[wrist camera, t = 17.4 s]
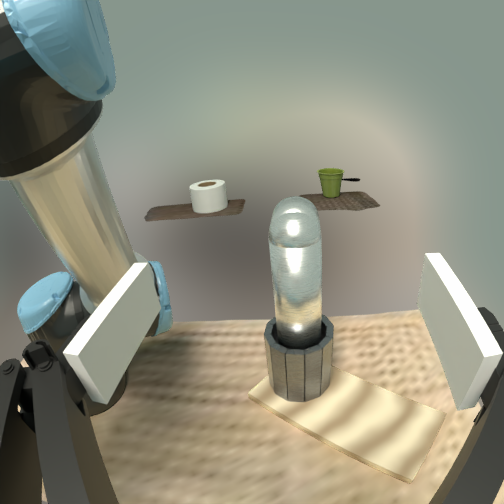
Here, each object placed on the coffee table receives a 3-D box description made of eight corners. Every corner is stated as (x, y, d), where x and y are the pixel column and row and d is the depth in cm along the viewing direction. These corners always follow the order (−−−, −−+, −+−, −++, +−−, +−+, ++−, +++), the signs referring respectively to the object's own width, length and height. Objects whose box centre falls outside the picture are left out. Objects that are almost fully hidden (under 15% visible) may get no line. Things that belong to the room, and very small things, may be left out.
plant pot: (348, 198, 134) (347, 172, 129) (321, 200, 134) (320, 175, 129) (340, 190, 145) (339, 167, 140) (315, 193, 145) (314, 169, 140)
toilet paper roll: (230, 200, 148) (227, 177, 143) (224, 212, 134) (221, 187, 129) (198, 203, 150) (194, 181, 145) (189, 215, 136) (184, 190, 132)
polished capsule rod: (321, 360, 44) (322, 220, 35) (276, 360, 45) (263, 223, 36) (319, 320, 52) (317, 195, 43) (280, 321, 53) (270, 197, 44)
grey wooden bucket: (258, 383, 51) (250, 336, 46) (294, 350, 57) (292, 302, 53) (306, 411, 45) (307, 364, 40) (341, 372, 51) (345, 323, 46)
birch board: (248, 398, 50) (247, 392, 50) (296, 354, 58) (296, 349, 58) (409, 484, 31) (412, 480, 30) (443, 418, 39) (446, 413, 38)
